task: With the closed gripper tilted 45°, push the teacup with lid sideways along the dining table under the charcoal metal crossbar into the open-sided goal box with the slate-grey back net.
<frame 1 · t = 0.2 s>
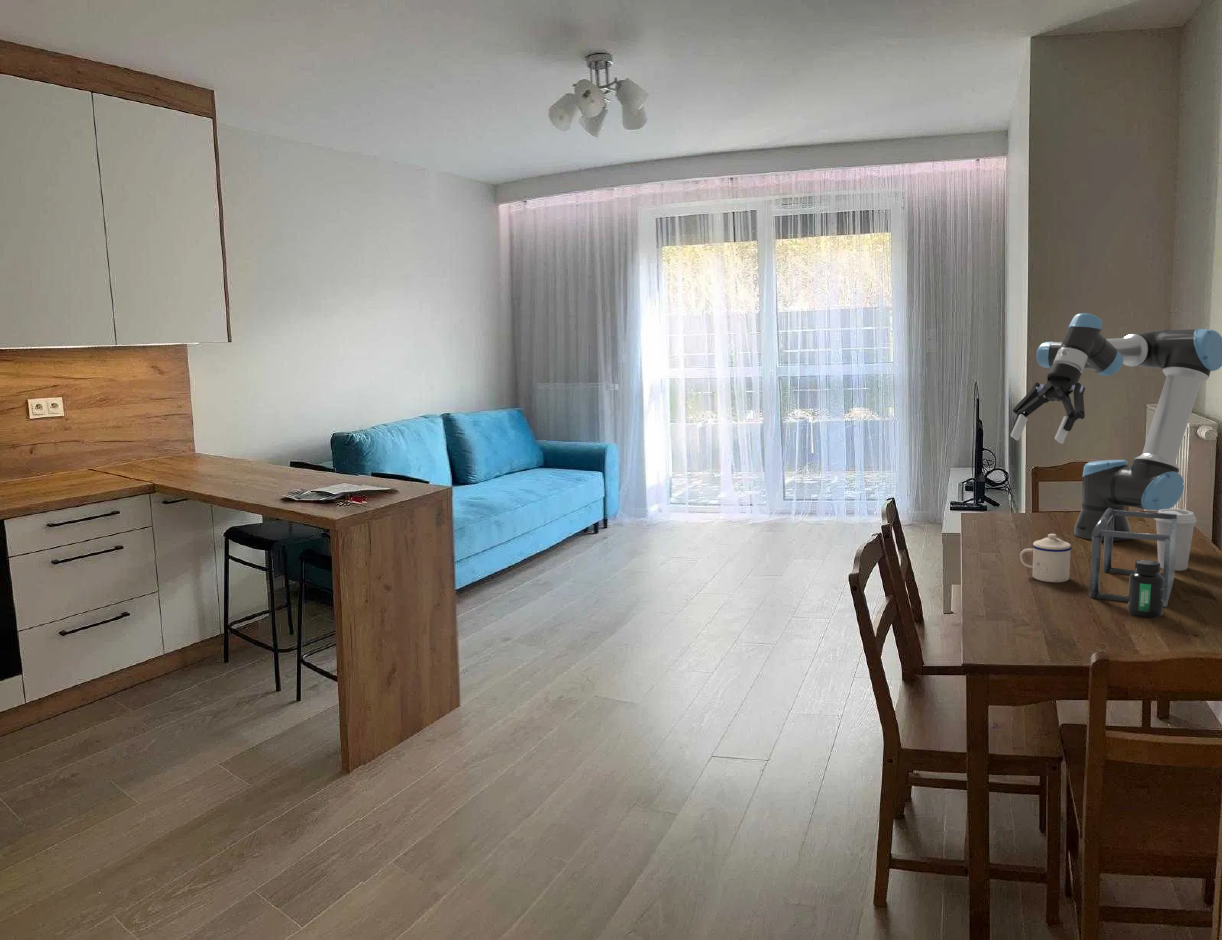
hand: (1035, 439, 236), 35 cm above the table, tool tilted 35°, fingers open, 13 cm apart
goal box: (1132, 587, 224), on the table
supplement bottle: (1144, 614, 205), on the table
coffee cup: (1172, 568, 239), on the table
teacup with lid: (1044, 578, 235), on the table
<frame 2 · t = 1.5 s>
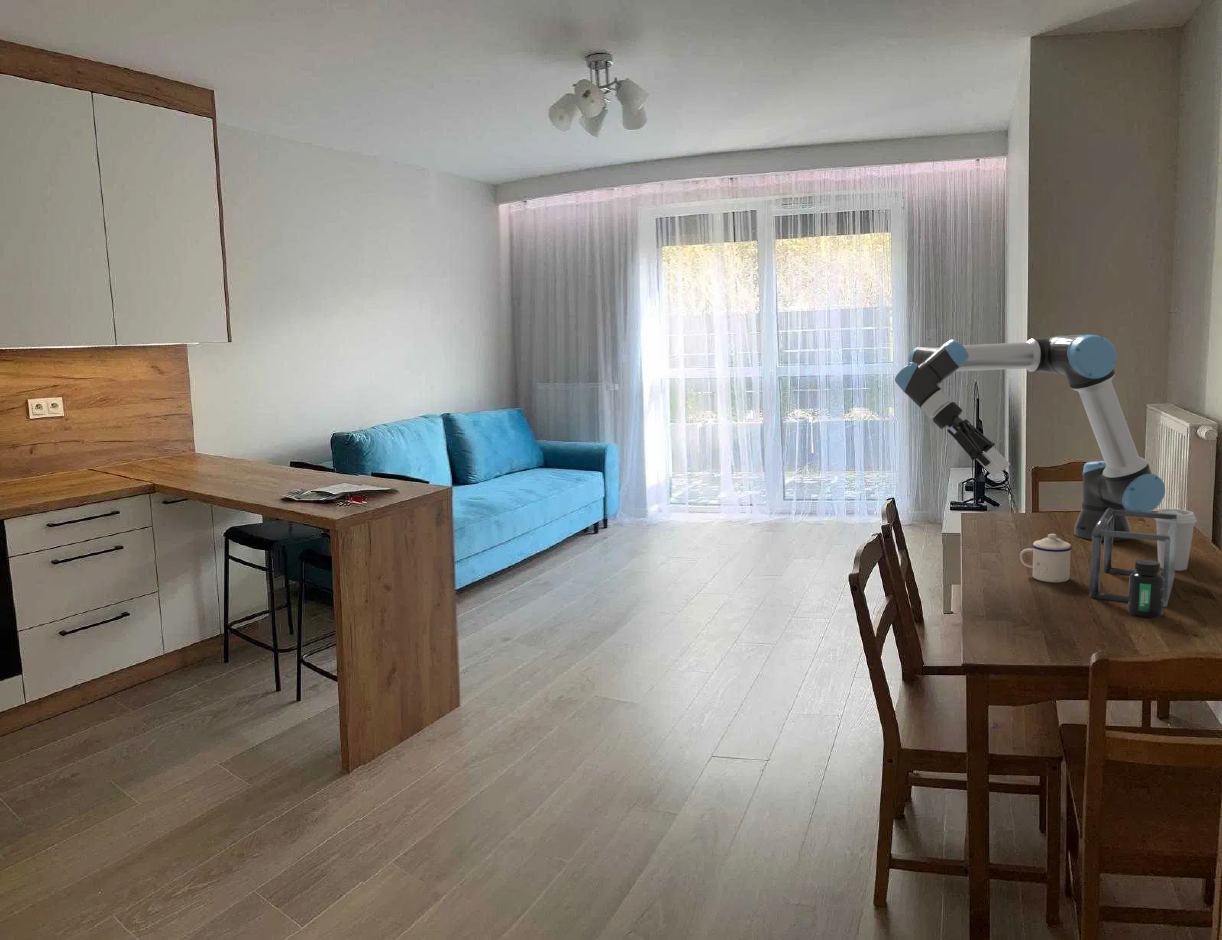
hand: (1002, 470, 241), 27 cm above the table, tool tilted 45°, fingers open, 9 cm apart
nothing on the table moved.
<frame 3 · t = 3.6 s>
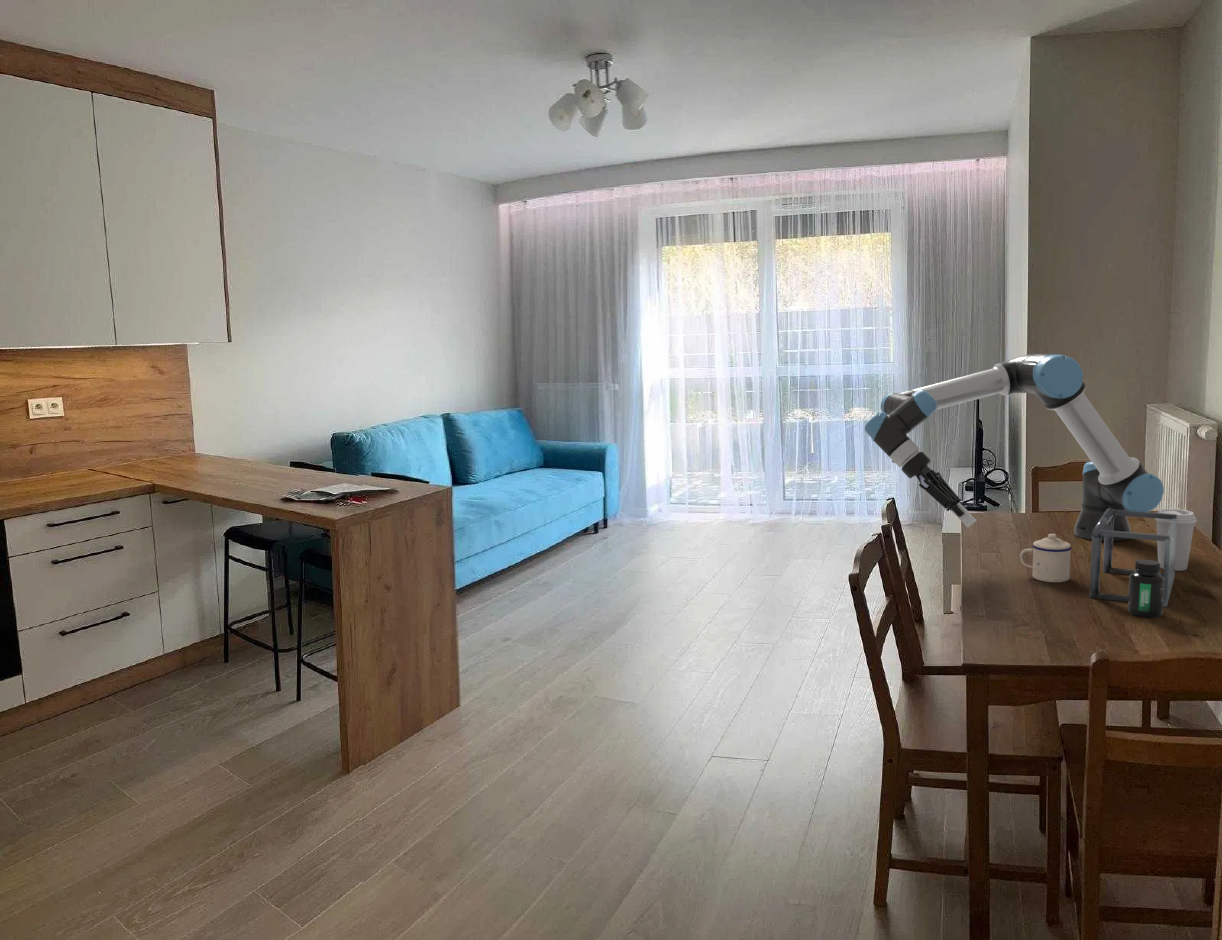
hand: (972, 524, 243), 13 cm above the table, tool tilted 45°, fingers closed
nothing on the table moved.
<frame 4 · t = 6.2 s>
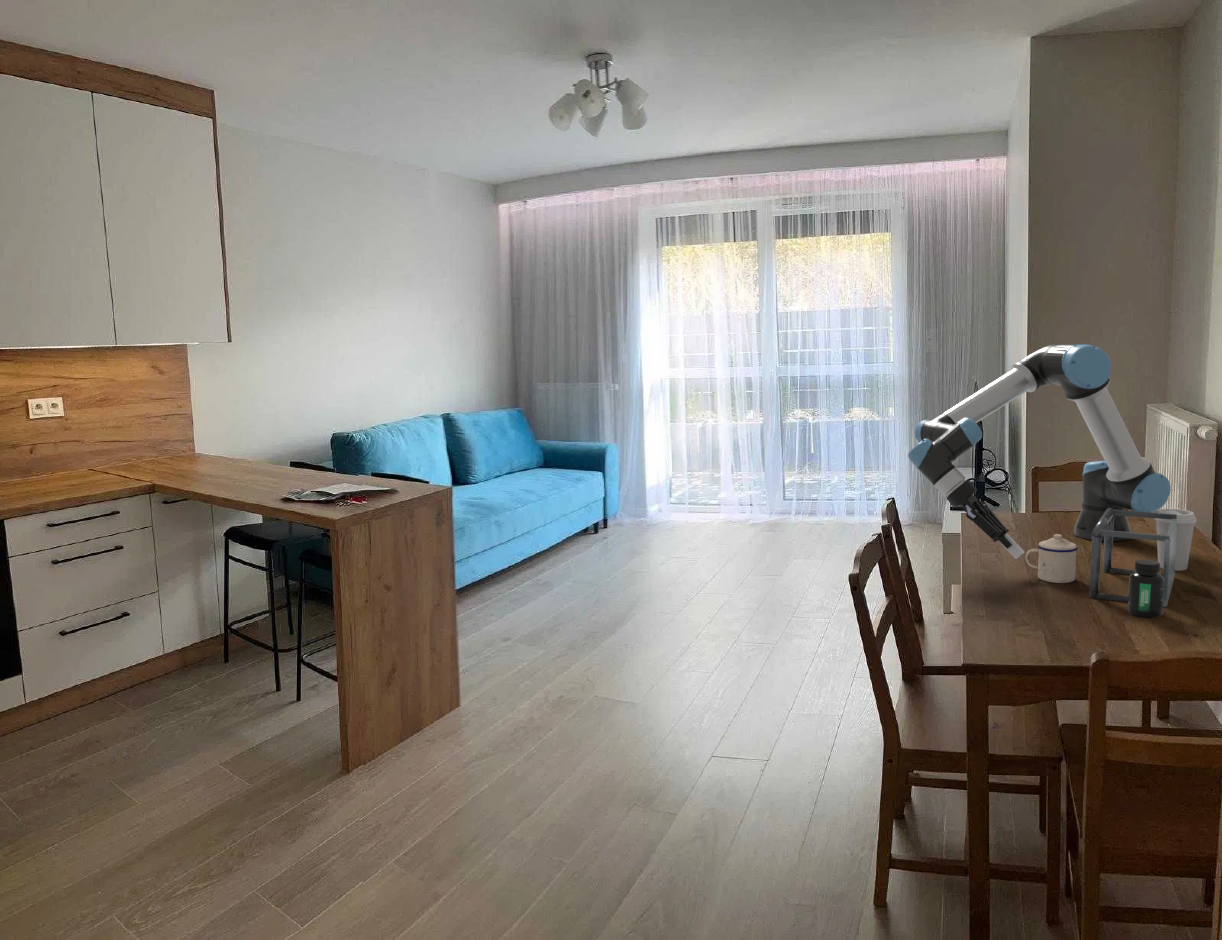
hand: (1020, 555, 237), 5 cm above the table, tool tilted 45°, fingers closed
teacup with lid: (1050, 578, 234), on the table, touching gripper
everything else where it was.
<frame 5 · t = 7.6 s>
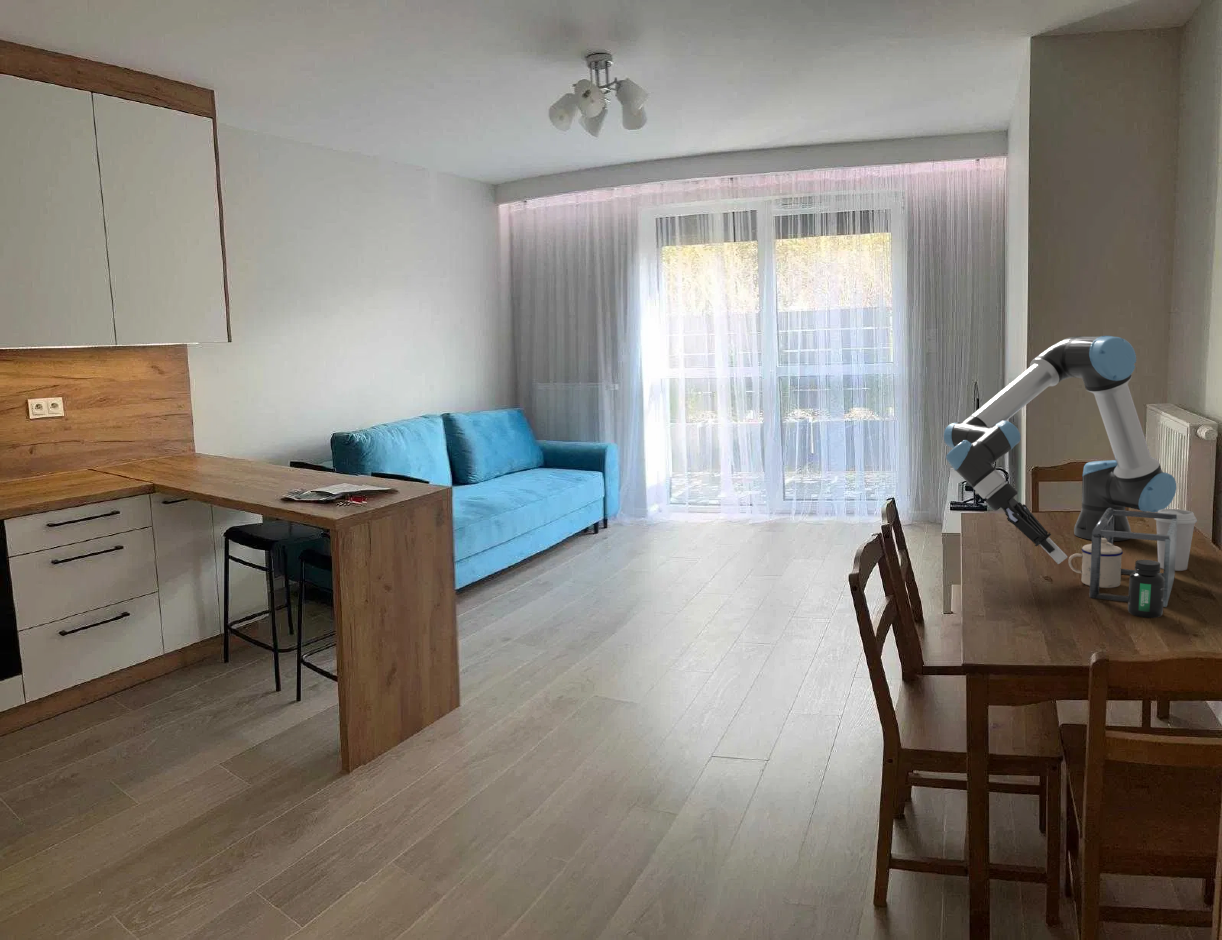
hand: (1062, 560, 231), 5 cm above the table, tool tilted 45°, fingers closed
teacup with lid: (1094, 583, 229), on the table, touching gripper
everything else where it was.
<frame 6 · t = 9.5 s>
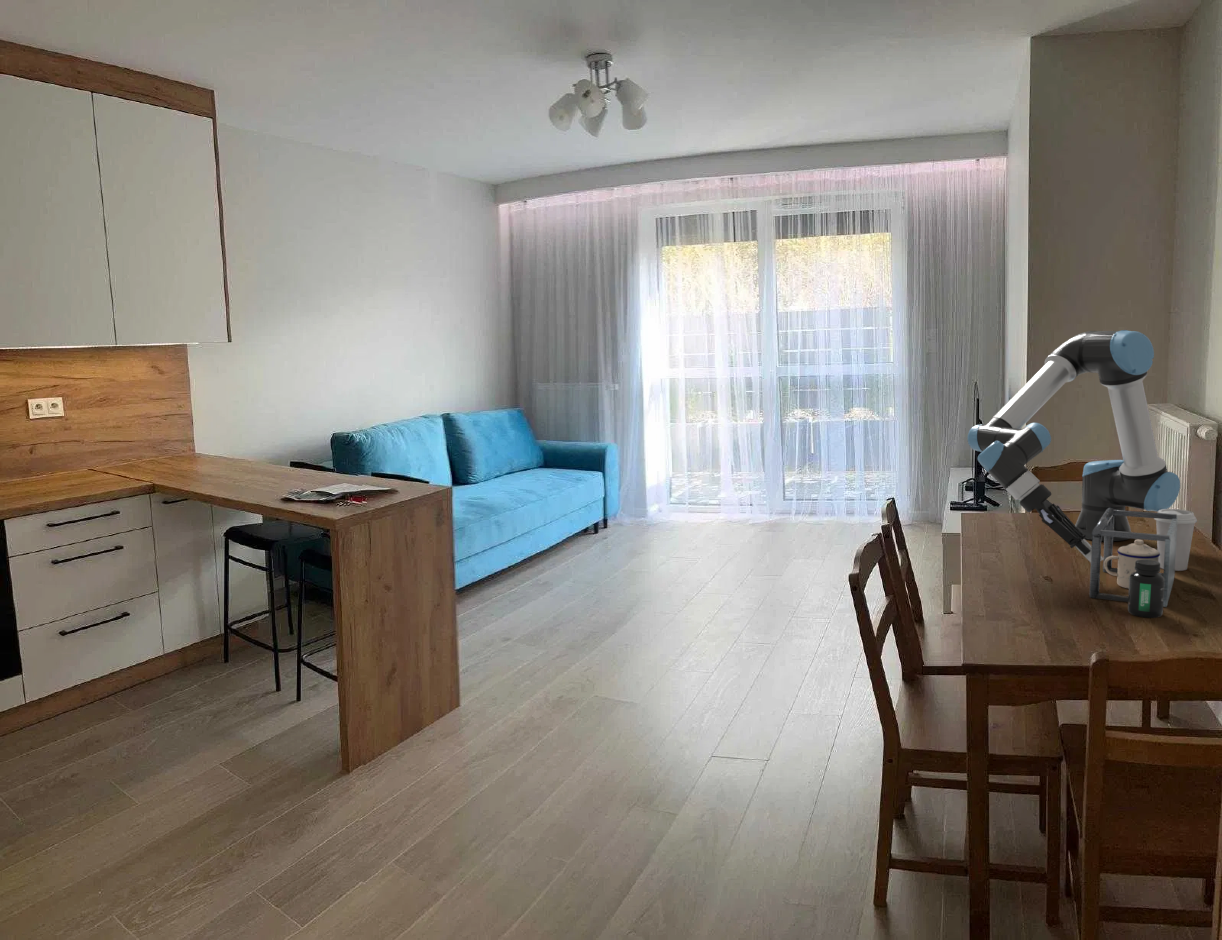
hand: (1098, 562, 227), 6 cm above the table, tool tilted 45°, fingers closed
teacup with lid: (1130, 586, 226), on the table, touching gripper
everything else where it was.
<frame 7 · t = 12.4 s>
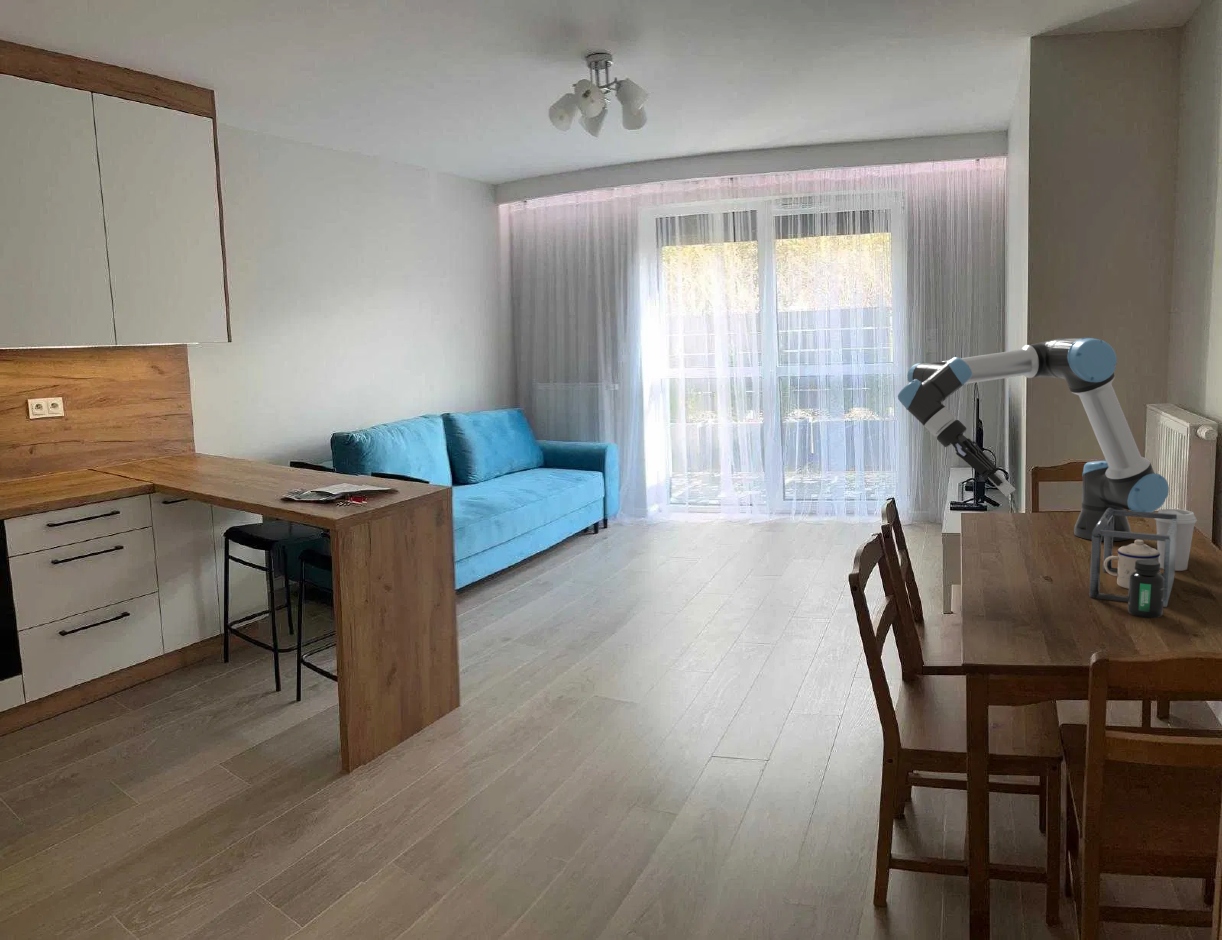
hand: (1010, 492, 237), 22 cm above the table, tool tilted 45°, fingers closed
teacup with lid: (1130, 586, 226), on the table
everything else where it was.
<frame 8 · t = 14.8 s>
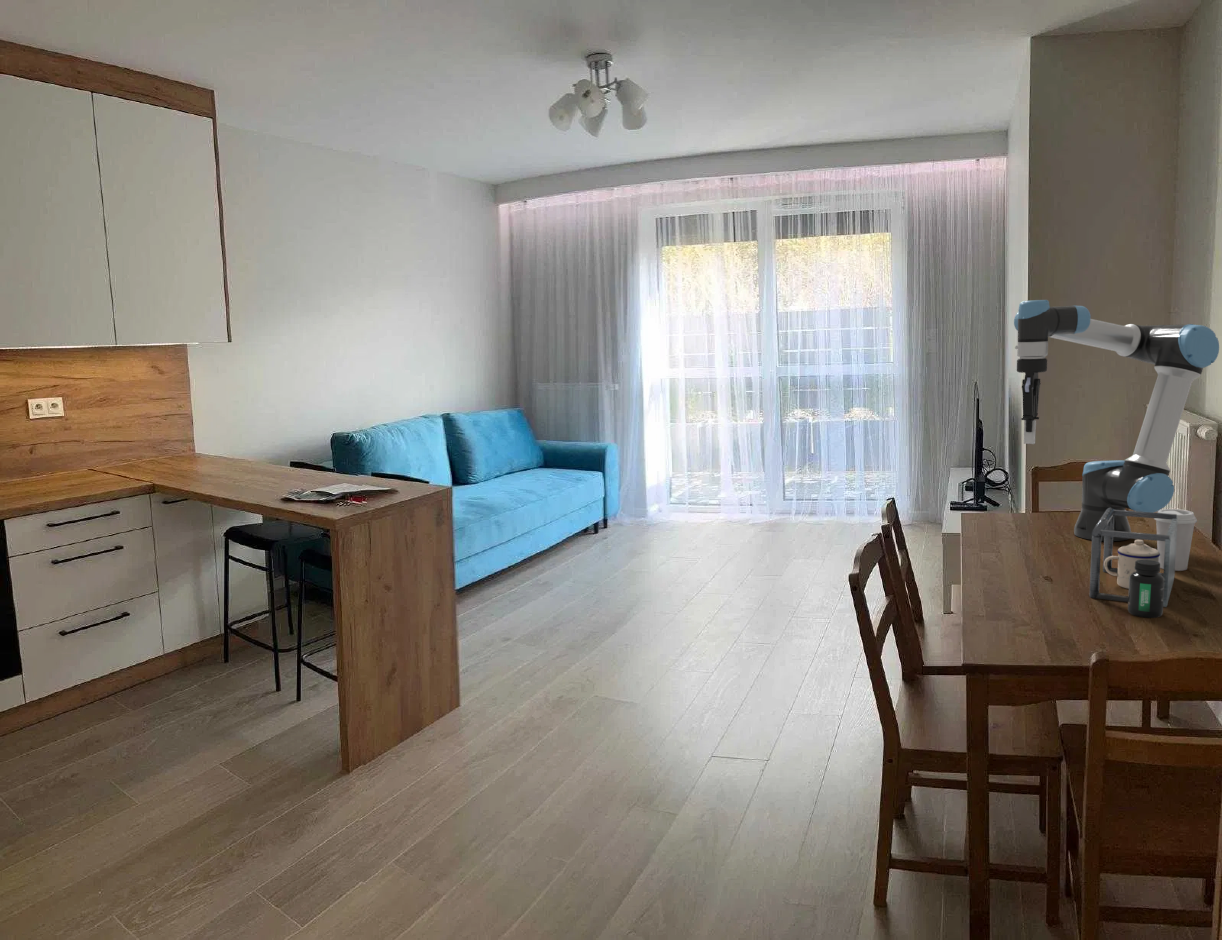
hand: (1029, 443, 250), 32 cm above the table, tool pointing down, fingers closed
nothing on the table moved.
at the end: teacup with lid inside the target area (1.9 cm from its centre), on the table; teacup with lid tilted 0°; teacup with lid moved 19.3 cm from its start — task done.
